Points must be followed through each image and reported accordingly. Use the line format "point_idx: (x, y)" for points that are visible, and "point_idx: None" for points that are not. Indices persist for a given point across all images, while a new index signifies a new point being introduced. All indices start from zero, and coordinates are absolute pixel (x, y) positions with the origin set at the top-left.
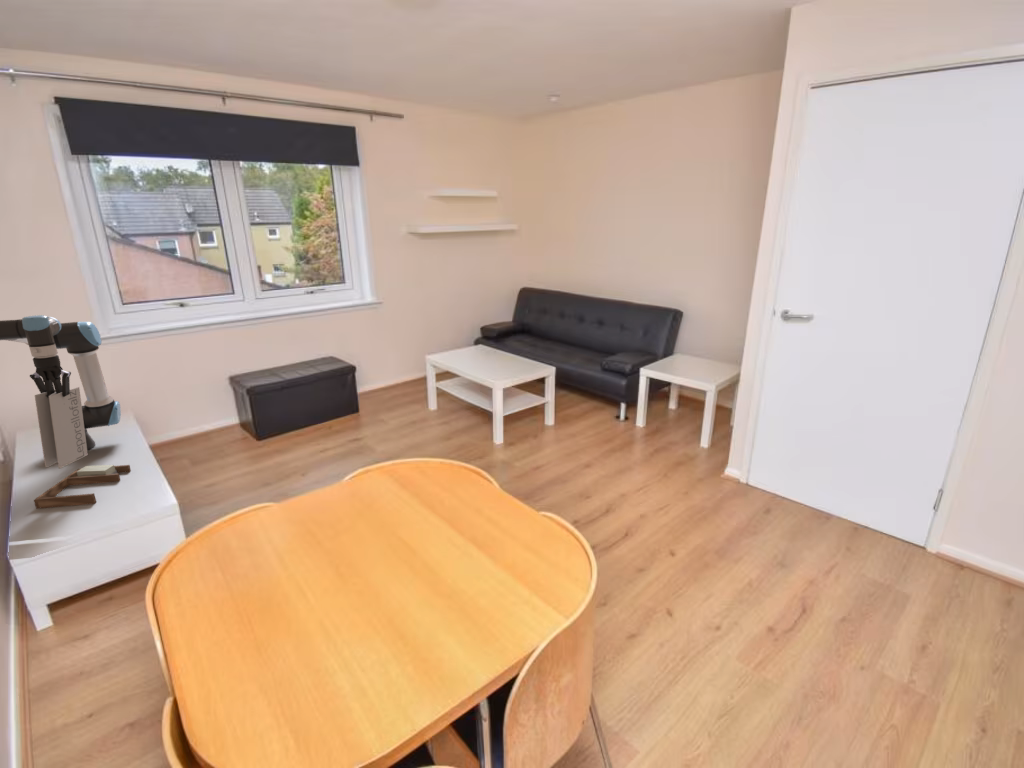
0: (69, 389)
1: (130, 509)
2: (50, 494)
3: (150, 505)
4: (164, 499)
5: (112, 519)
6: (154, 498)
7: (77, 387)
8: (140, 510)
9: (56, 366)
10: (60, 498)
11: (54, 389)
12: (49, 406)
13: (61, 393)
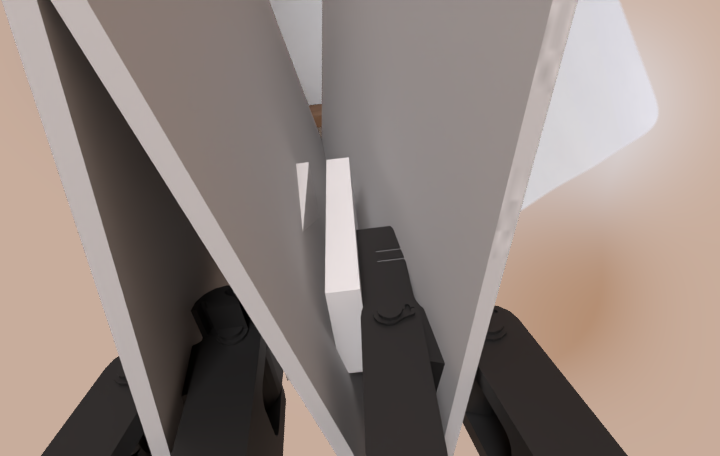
0: (576, 397)
1: (553, 148)
2: None
3: (606, 128)
4: (642, 90)
5: (524, 197)
6: (607, 80)
7: None
8: (585, 155)
9: None
10: (320, 126)
11: (123, 344)
12: (217, 274)
13: (449, 429)
